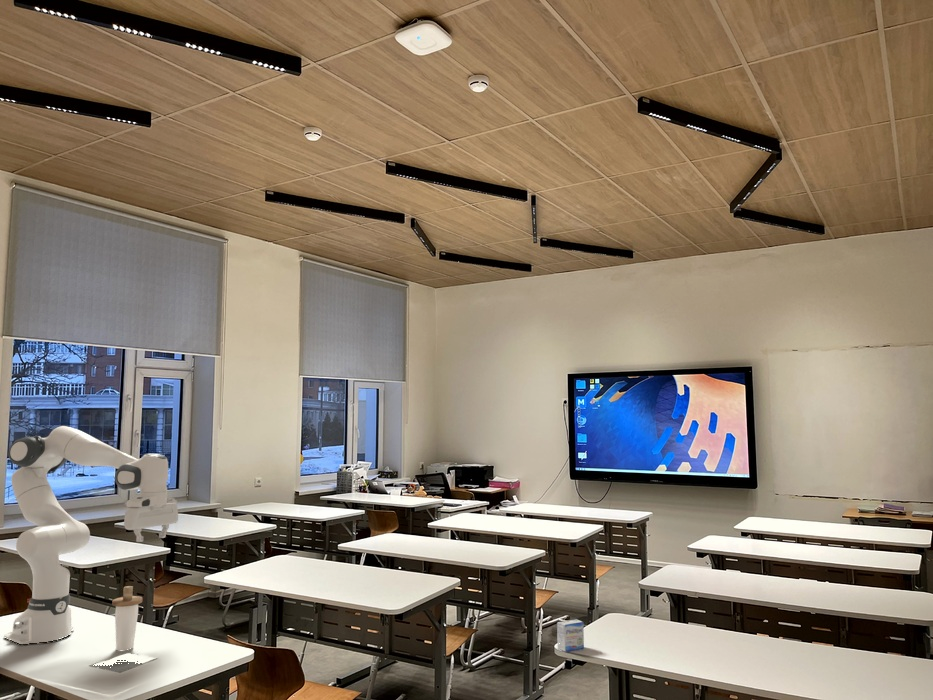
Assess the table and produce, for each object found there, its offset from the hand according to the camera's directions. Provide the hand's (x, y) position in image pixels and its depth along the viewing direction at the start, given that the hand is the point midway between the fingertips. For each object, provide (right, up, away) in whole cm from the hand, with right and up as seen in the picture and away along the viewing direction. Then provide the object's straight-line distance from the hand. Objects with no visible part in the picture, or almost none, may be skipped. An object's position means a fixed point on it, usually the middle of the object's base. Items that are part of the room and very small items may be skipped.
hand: (151, 539), depth 236 cm
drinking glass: (-2, -33, -14) cm, 36 cm away
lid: (-2, -18, -12) cm, 22 cm away
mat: (+4, -31, -26) cm, 41 cm away
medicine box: (+146, -33, -13) cm, 151 cm away
